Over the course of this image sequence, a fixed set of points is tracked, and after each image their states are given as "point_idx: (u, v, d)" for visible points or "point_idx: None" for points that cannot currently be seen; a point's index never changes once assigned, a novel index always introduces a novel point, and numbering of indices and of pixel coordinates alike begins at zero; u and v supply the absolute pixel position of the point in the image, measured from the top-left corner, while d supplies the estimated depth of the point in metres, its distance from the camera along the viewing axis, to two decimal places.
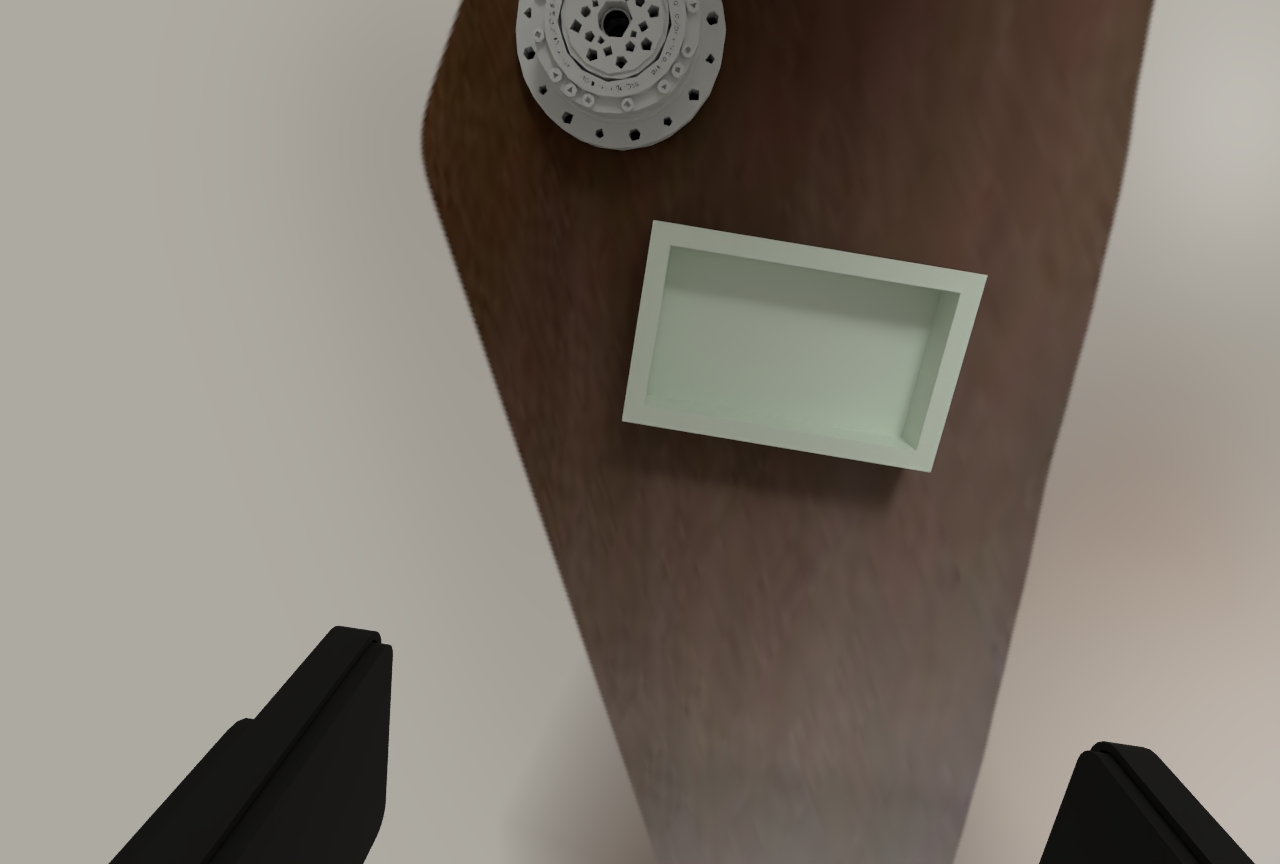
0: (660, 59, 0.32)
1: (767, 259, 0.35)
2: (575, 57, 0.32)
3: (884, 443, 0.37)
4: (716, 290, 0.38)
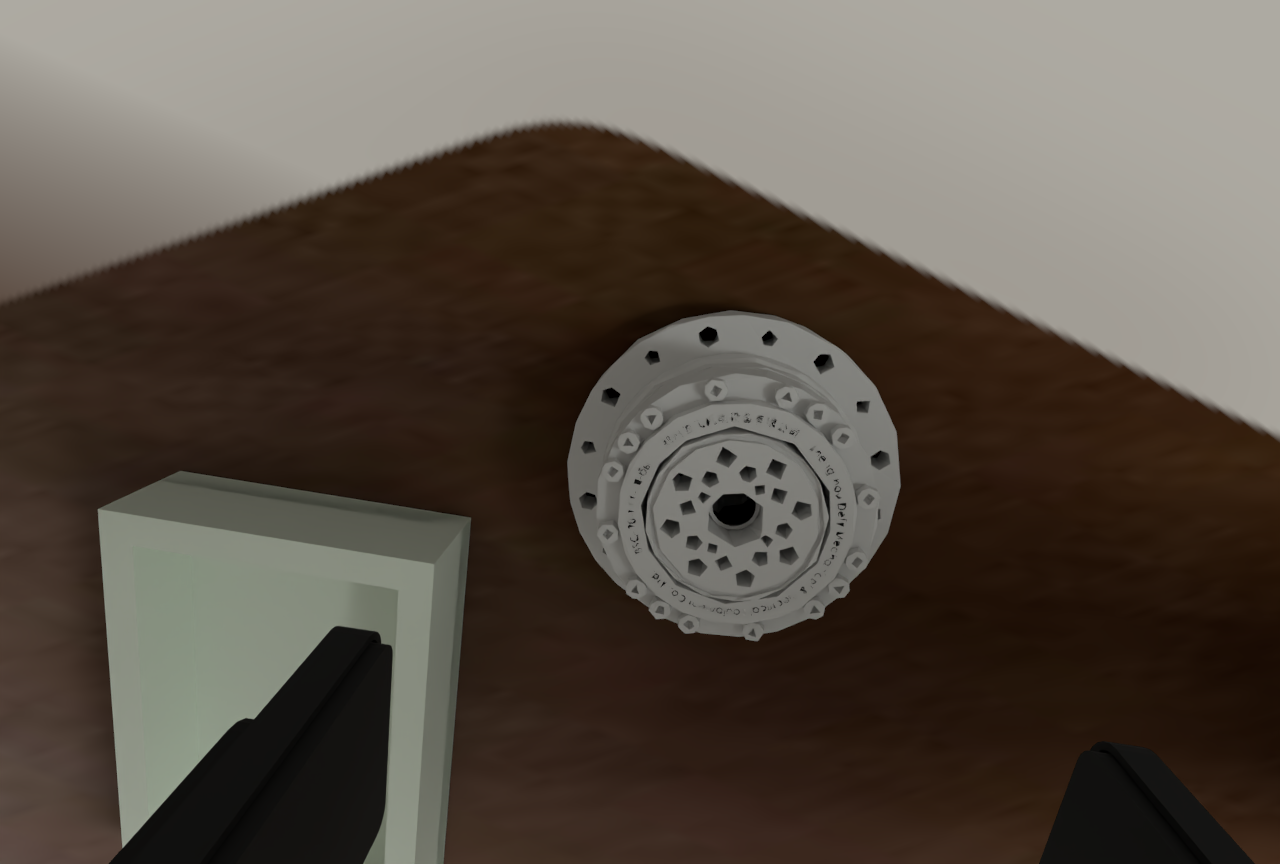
0: (674, 586, 0.20)
1: (393, 725, 0.22)
2: (678, 454, 0.19)
3: None
4: (367, 617, 0.24)
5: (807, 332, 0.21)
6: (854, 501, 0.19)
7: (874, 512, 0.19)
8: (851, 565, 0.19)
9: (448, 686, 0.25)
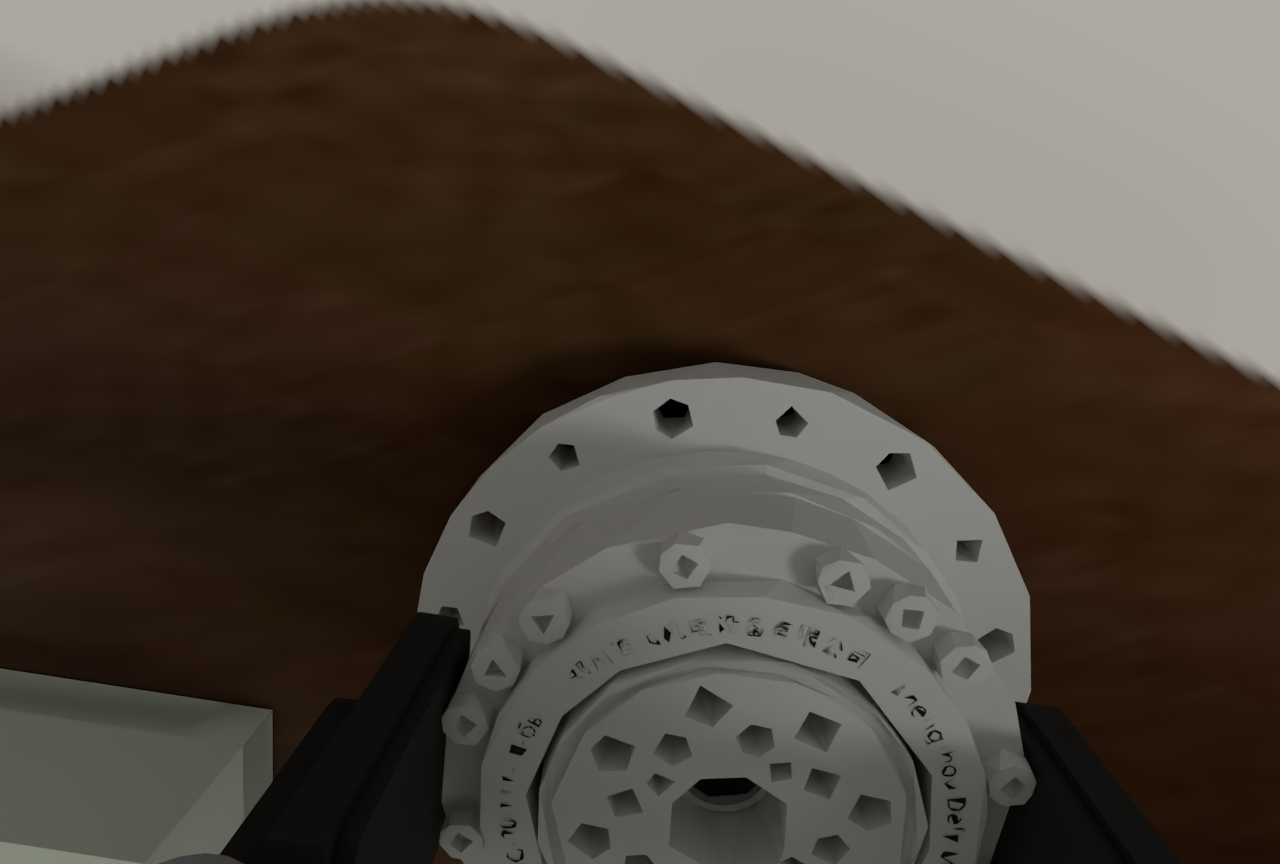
0: None
1: None
2: (604, 696, 0.09)
3: None
4: None
5: (865, 411, 0.10)
6: (984, 795, 0.09)
7: None
8: None
9: None
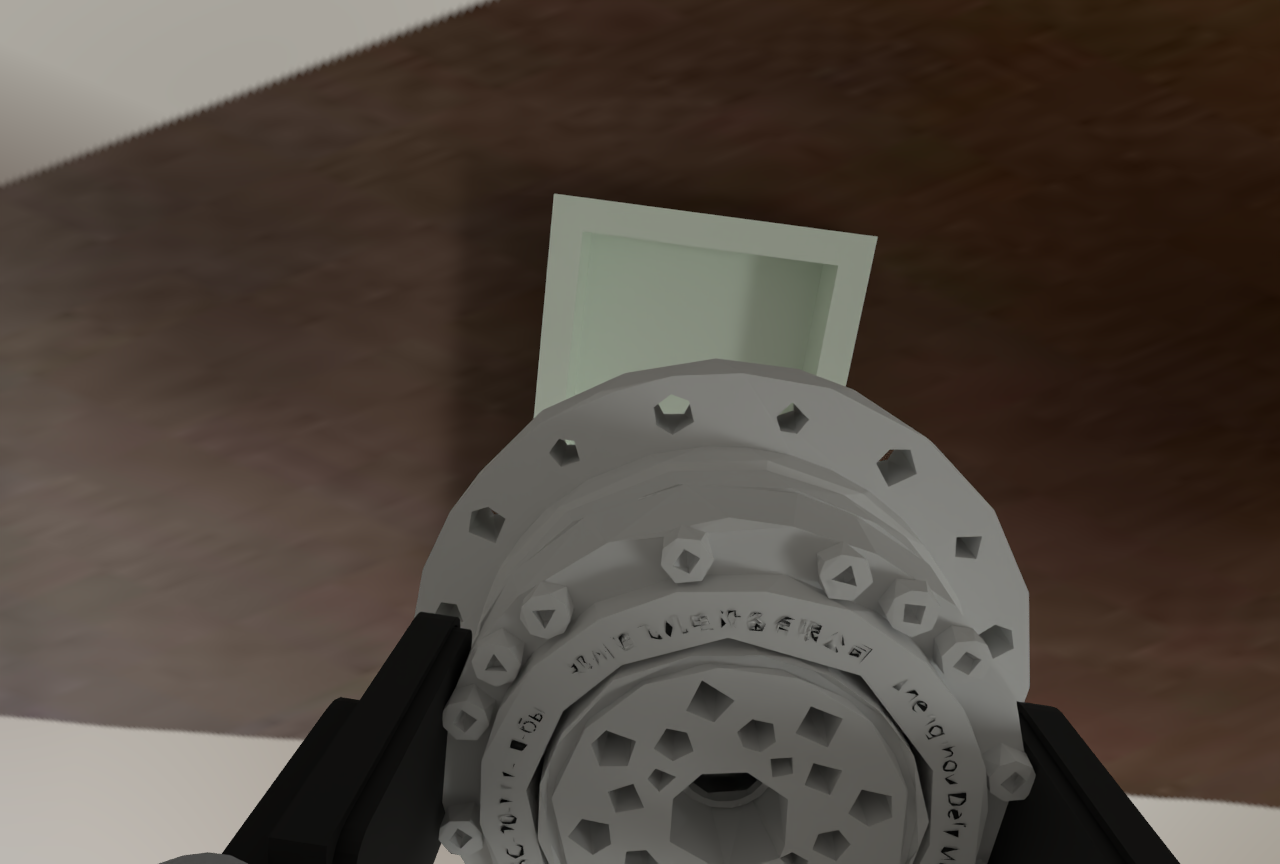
0: None
1: None
2: (605, 690, 0.09)
3: None
4: (753, 332, 0.26)
5: (866, 407, 0.10)
6: (985, 790, 0.09)
7: None
8: None
9: None
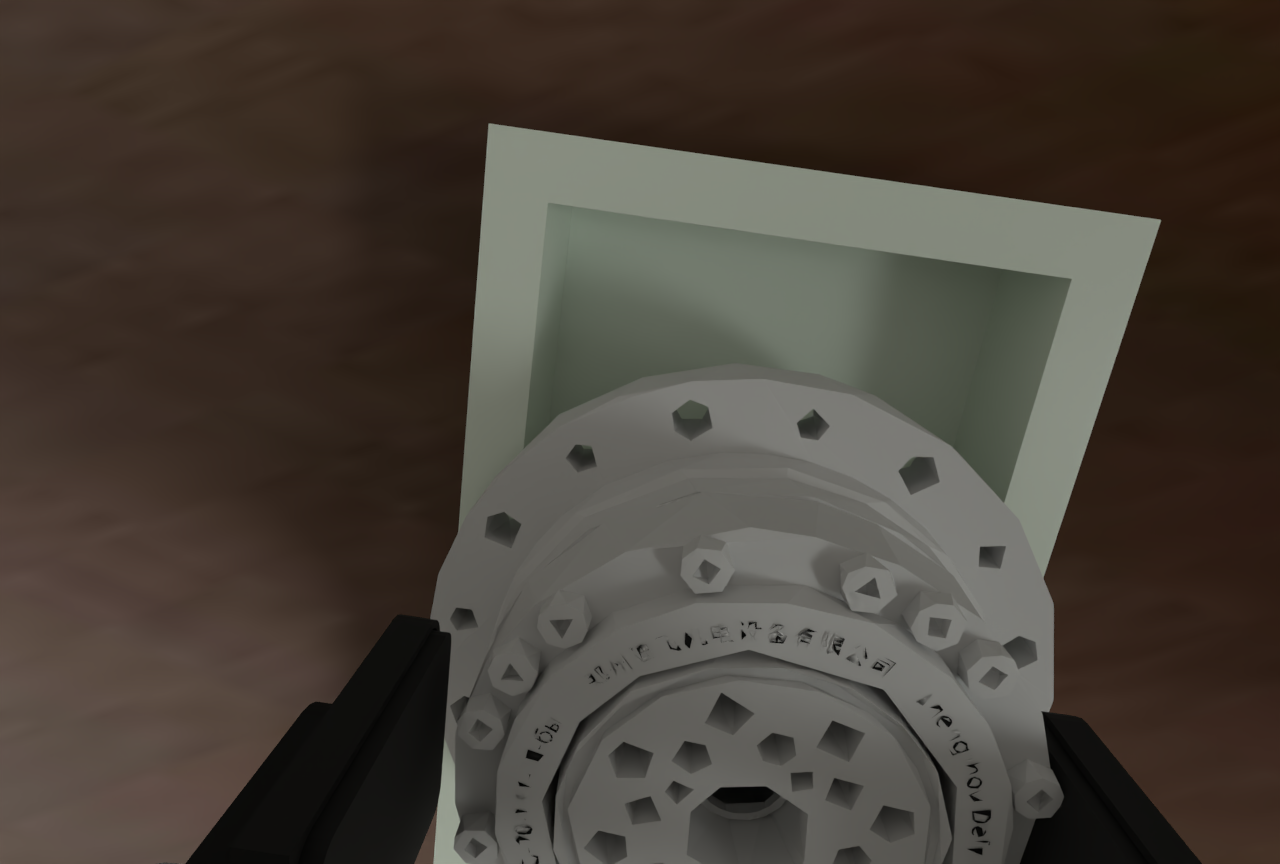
0: None
1: None
2: (622, 701, 0.08)
3: None
4: None
5: (888, 414, 0.10)
6: (1010, 807, 0.08)
7: None
8: None
9: None
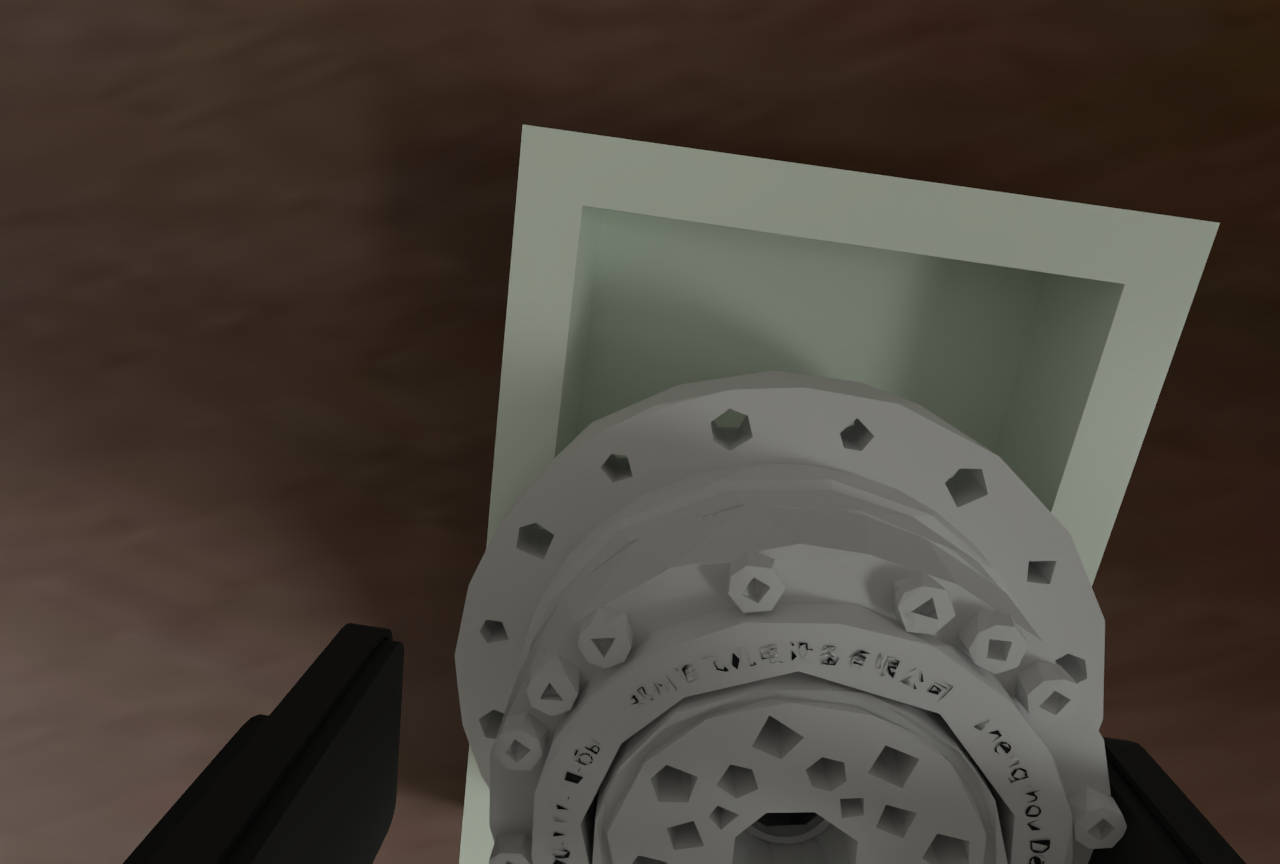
0: None
1: None
2: (666, 723, 0.08)
3: None
4: None
5: (935, 424, 0.10)
6: (1070, 837, 0.08)
7: None
8: None
9: None
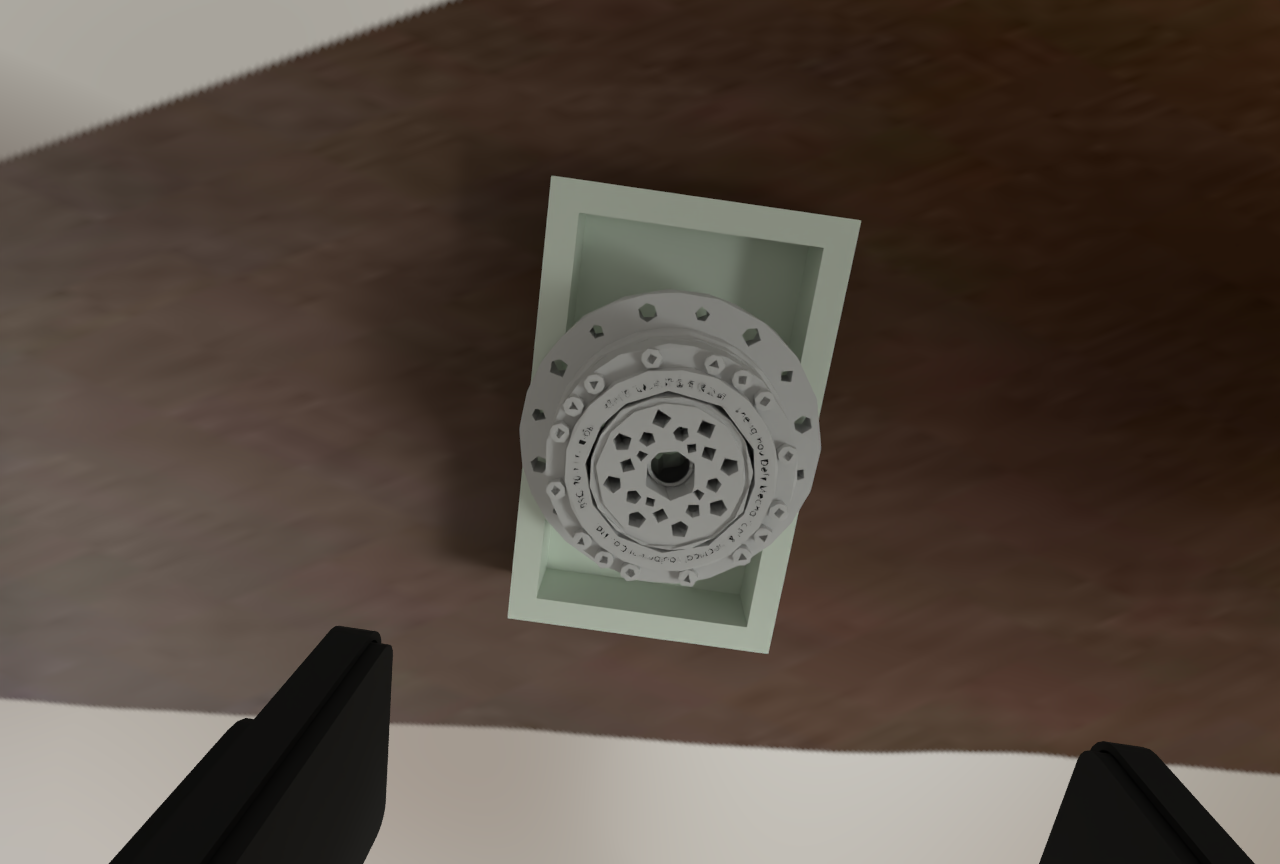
0: (617, 537, 0.22)
1: None
2: (618, 416, 0.21)
3: (541, 556, 0.27)
4: None
5: (736, 308, 0.23)
6: (775, 457, 0.21)
7: (794, 468, 0.21)
8: (774, 516, 0.22)
9: None
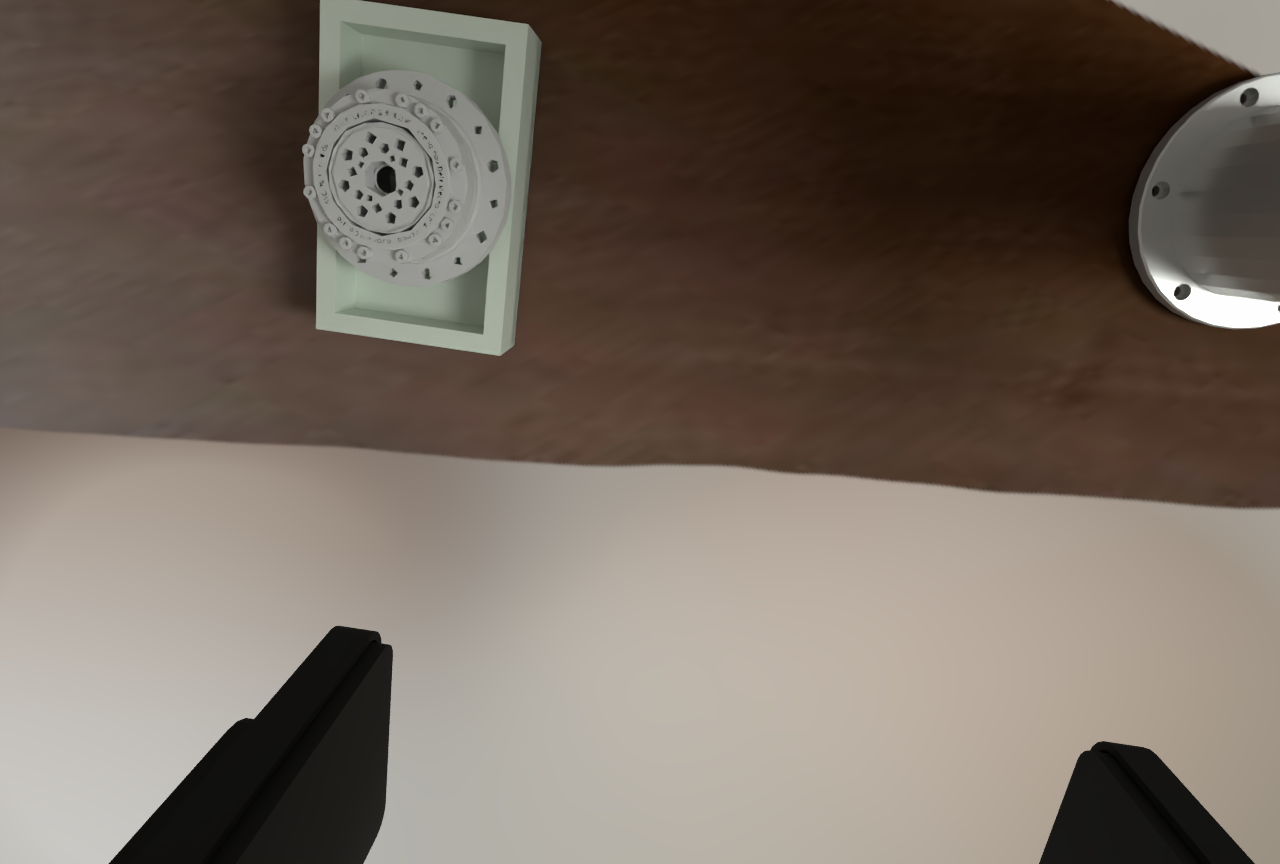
0: (351, 225, 0.33)
1: None
2: (344, 137, 0.32)
3: (339, 283, 0.39)
4: None
5: (440, 81, 0.34)
6: (446, 165, 0.32)
7: (464, 176, 0.33)
8: (452, 209, 0.33)
9: (527, 156, 0.38)
